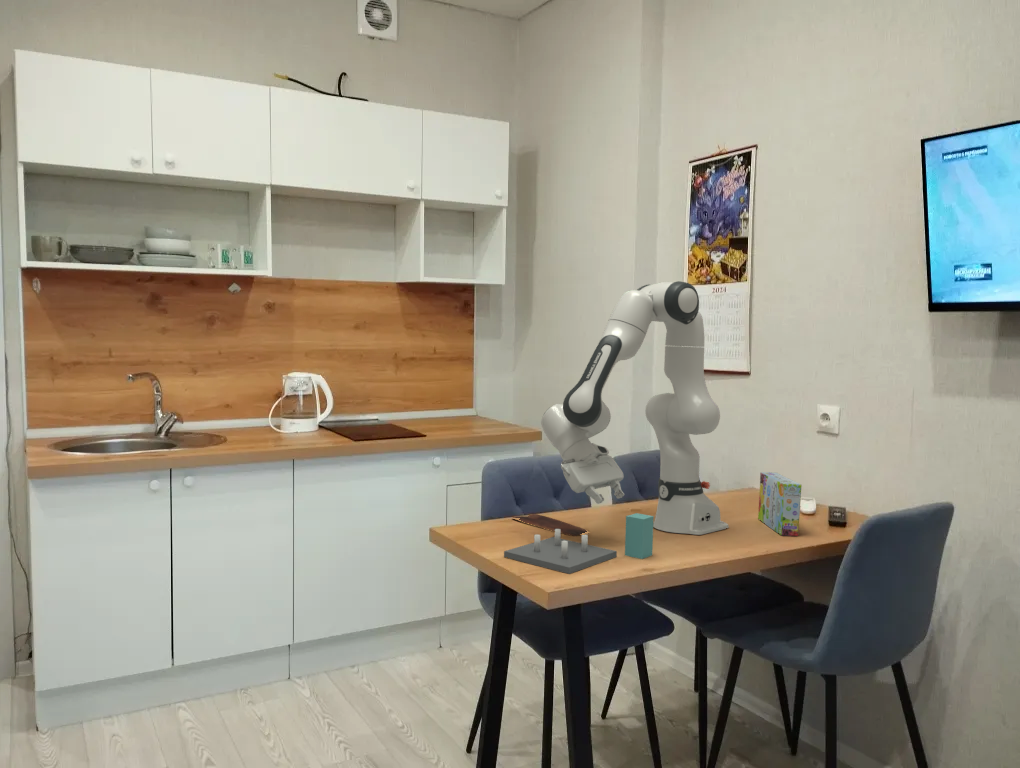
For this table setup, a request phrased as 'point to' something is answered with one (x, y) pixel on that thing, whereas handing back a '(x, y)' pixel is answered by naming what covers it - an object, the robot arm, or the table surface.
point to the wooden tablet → (552, 524)
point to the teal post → (639, 535)
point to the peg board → (560, 553)
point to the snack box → (779, 503)
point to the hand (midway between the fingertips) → (611, 499)
